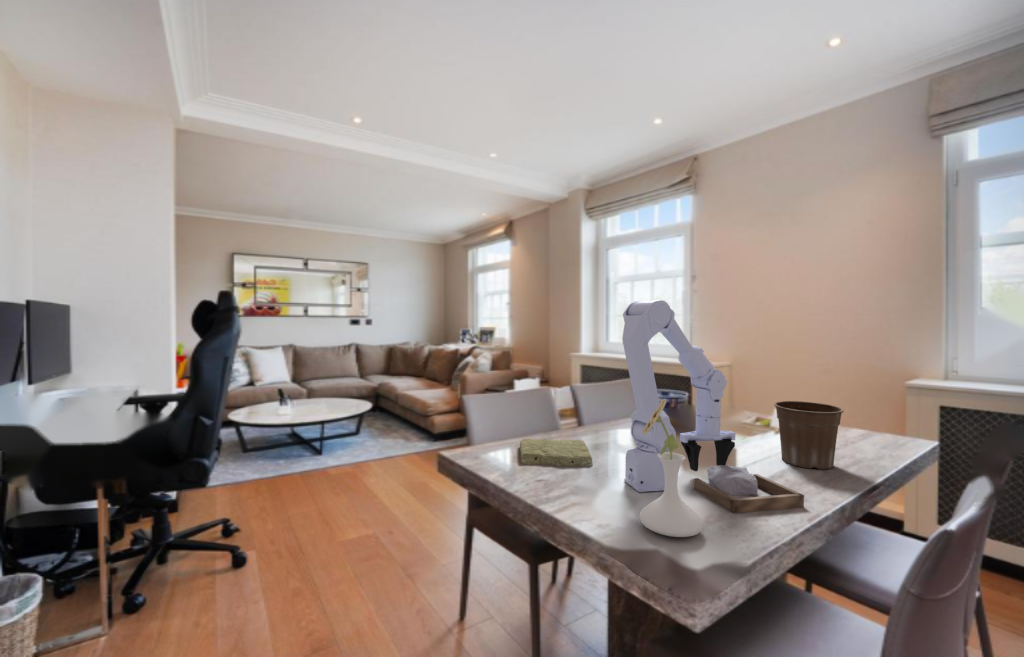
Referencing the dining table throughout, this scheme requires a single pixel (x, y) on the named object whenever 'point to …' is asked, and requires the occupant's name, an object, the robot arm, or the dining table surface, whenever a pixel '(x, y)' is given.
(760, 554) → the dining table surface
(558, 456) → the decorative tile
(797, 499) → the walnut corral
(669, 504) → the flower in vase
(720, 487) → the stone block
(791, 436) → the plant pot
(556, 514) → the dining table surface
